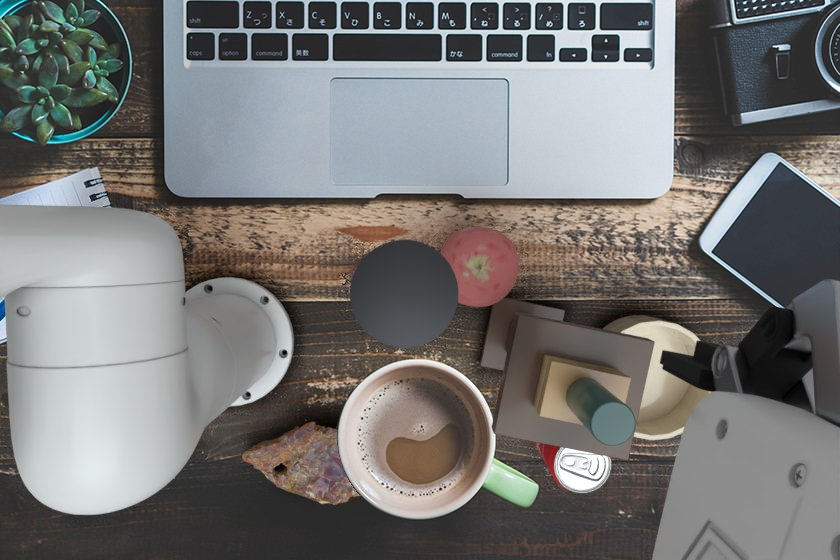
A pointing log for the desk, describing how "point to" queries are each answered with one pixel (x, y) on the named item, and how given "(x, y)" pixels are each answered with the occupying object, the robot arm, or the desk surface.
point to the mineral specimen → (304, 463)
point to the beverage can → (575, 467)
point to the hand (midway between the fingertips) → (670, 484)
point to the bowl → (662, 377)
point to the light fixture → (404, 293)
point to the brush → (586, 398)
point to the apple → (481, 265)
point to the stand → (522, 361)
